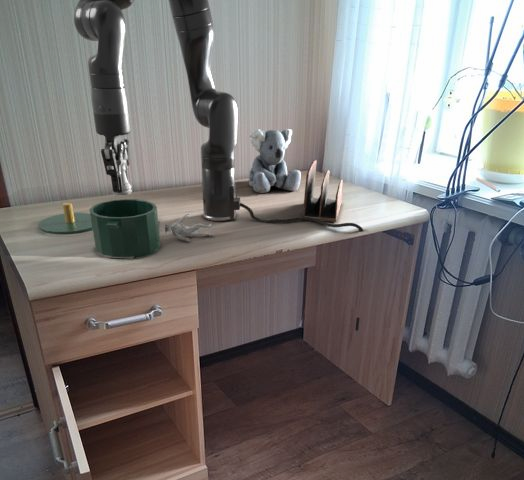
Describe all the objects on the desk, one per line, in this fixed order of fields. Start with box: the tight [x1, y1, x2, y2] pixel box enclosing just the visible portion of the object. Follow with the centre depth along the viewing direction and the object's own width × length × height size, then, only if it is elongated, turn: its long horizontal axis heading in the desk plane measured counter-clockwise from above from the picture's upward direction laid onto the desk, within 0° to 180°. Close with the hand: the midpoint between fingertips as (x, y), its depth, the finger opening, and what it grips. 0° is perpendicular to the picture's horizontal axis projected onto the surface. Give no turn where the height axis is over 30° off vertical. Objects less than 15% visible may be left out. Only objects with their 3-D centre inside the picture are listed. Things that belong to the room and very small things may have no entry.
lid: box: [38, 202, 93, 235], centre depth 140 cm, size 17×17×6 cm
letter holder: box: [302, 159, 344, 223], centre depth 153 cm, size 10×20×14 cm, turn 168°
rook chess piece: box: [112, 158, 133, 196], centre depth 119 cm, size 4×4×8 cm
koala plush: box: [248, 127, 302, 194], centre depth 175 cm, size 17×18×20 cm
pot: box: [88, 198, 161, 260], centre depth 125 cm, size 16×21×10 cm
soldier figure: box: [164, 213, 213, 242], centre depth 134 cm, size 8×5×12 cm
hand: (121, 189), depth 120 cm, fingers closed on rook chess piece, 4 cm apart
